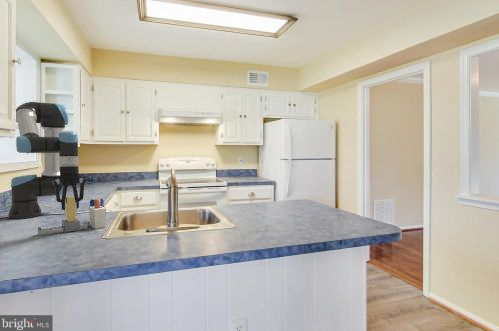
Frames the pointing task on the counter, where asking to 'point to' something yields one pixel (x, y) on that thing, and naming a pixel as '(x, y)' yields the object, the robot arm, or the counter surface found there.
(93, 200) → the beverage can
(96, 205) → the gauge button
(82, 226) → the rail
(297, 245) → the counter surface
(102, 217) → the end cabinet
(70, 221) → the carriage
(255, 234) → the counter surface
